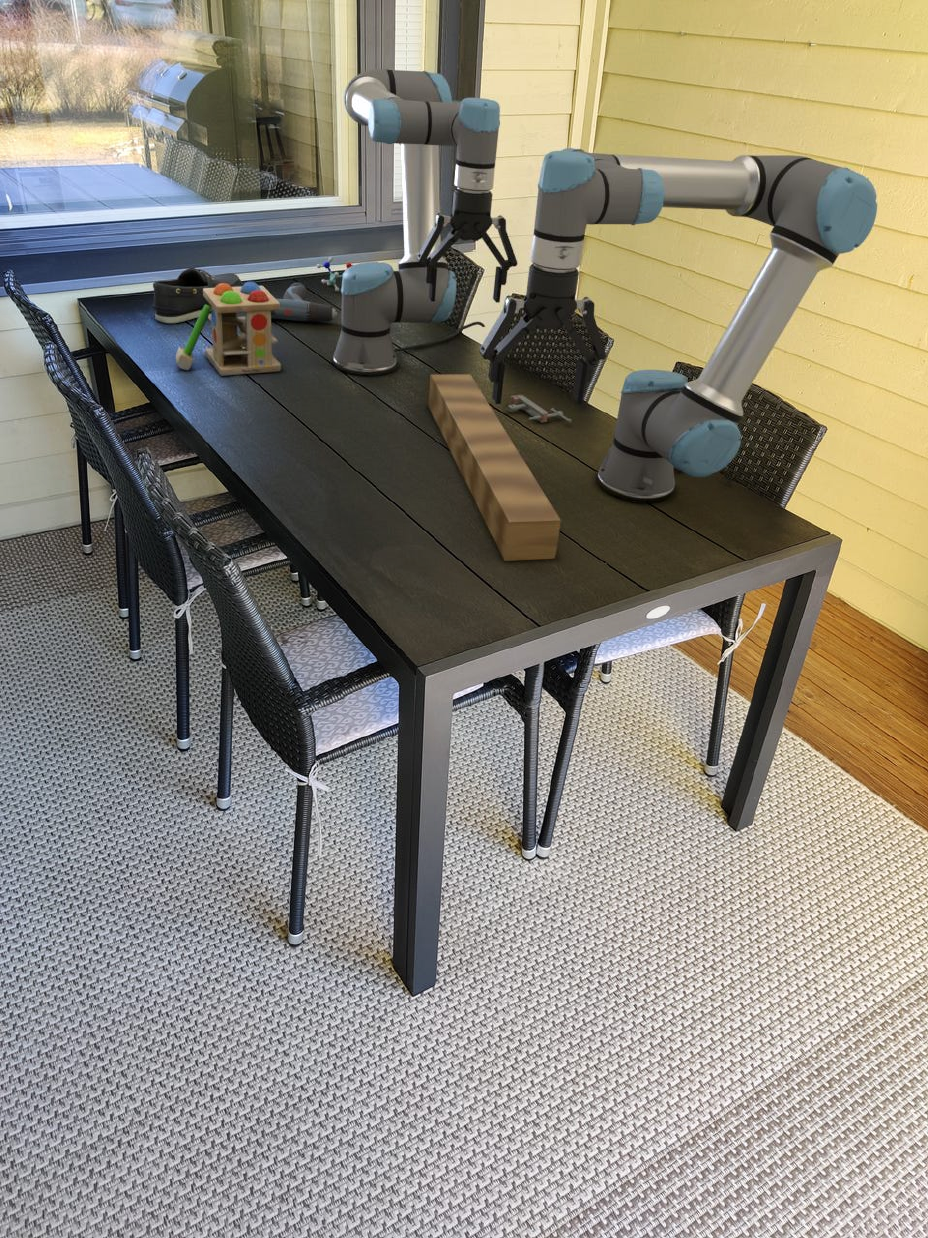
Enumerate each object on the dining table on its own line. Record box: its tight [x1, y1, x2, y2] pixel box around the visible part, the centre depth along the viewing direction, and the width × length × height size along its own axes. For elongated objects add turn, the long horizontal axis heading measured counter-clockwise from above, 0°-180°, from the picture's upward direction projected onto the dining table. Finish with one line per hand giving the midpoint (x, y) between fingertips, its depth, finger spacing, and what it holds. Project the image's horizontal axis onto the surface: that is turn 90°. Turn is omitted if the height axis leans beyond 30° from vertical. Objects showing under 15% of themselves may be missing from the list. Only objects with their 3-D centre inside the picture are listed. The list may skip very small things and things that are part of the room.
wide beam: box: [428, 373, 562, 562], centre depth 192 cm, size 67×9×8 cm, turn 13°
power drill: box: [271, 282, 338, 322], centre depth 265 cm, size 5×19×20 cm
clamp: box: [506, 394, 572, 424], centre depth 219 cm, size 15×2×10 cm
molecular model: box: [316, 256, 354, 293], centre depth 287 cm, size 12×10×10 cm
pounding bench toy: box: [174, 281, 282, 377], centre depth 225 cm, size 23×14×18 cm, turn 116°
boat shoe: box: [152, 267, 243, 324], centre depth 261 cm, size 13×33×10 cm, turn 147°
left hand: (464, 300), depth 201 cm, fingers open, 13 cm apart
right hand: (536, 400), depth 158 cm, fingers open, 13 cm apart
